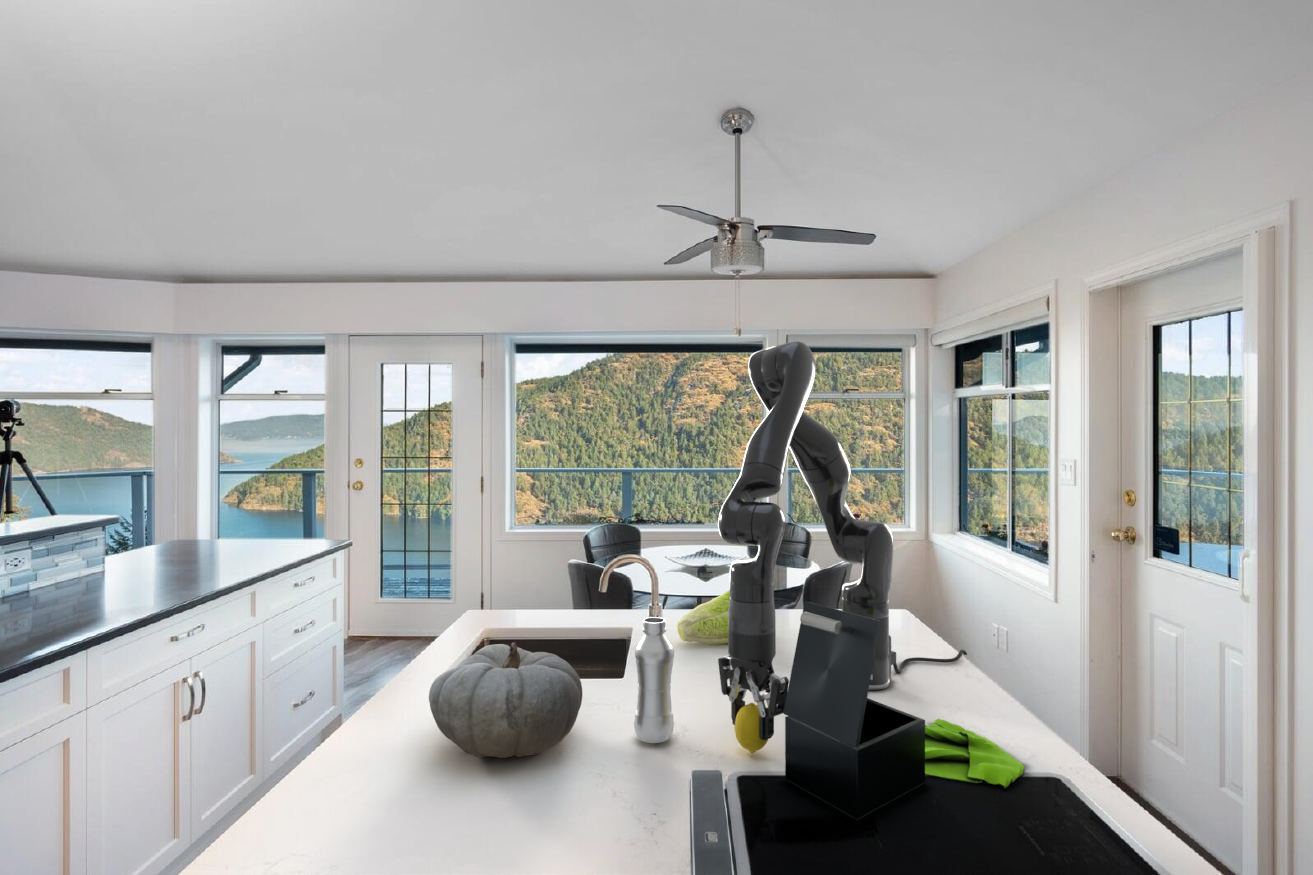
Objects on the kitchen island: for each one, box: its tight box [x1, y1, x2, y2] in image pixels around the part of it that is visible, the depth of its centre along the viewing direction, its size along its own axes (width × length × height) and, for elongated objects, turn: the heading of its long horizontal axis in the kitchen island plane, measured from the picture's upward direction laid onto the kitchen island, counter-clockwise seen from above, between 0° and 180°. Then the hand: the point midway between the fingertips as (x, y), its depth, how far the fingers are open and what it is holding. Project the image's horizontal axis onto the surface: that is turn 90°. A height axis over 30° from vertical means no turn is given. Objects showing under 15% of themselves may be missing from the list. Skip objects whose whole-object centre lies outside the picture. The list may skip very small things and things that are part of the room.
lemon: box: [734, 702, 769, 754], centre depth 105 cm, size 6×6×8 cm
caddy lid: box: [782, 600, 880, 747], centre depth 91 cm, size 16×13×5 cm
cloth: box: [925, 718, 1026, 789], centre depth 106 cm, size 20×22×2 cm
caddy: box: [784, 697, 926, 826], centre depth 95 cm, size 16×13×10 cm
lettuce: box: [676, 589, 730, 645], centre depth 163 cm, size 14×24×14 cm
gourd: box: [428, 642, 583, 759], centre depth 109 cm, size 25×25×17 cm
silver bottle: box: [633, 616, 675, 744], centre depth 110 cm, size 6×7×20 cm
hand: (751, 730), depth 105 cm, fingers closed on lemon, 5 cm apart
